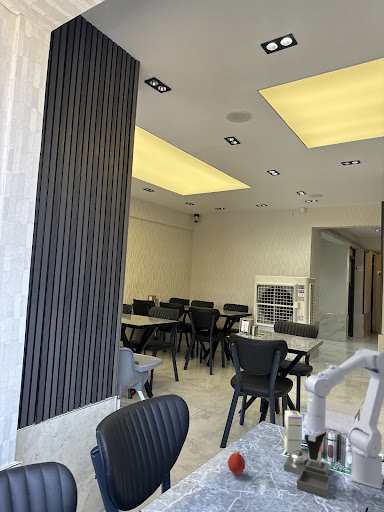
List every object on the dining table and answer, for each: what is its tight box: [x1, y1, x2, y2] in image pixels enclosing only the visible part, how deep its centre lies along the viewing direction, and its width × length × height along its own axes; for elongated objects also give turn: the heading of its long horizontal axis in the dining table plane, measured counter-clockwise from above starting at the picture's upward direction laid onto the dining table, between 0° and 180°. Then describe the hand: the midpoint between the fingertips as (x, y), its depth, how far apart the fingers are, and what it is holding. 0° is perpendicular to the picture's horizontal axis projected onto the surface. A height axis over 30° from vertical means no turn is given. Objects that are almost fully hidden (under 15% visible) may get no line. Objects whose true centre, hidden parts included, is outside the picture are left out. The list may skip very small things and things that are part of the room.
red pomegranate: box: [227, 450, 246, 476], centre depth 121 cm, size 6×6×8 cm
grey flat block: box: [283, 450, 331, 476], centre depth 128 cm, size 14×10×5 cm
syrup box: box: [283, 410, 303, 454], centre depth 143 cm, size 6×6×14 cm
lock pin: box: [307, 445, 323, 467], centre depth 118 cm, size 5×5×6 cm
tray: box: [296, 469, 332, 499], centre depth 117 cm, size 9×9×2 cm
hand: (314, 456), depth 118 cm, fingers closed on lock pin, 4 cm apart
